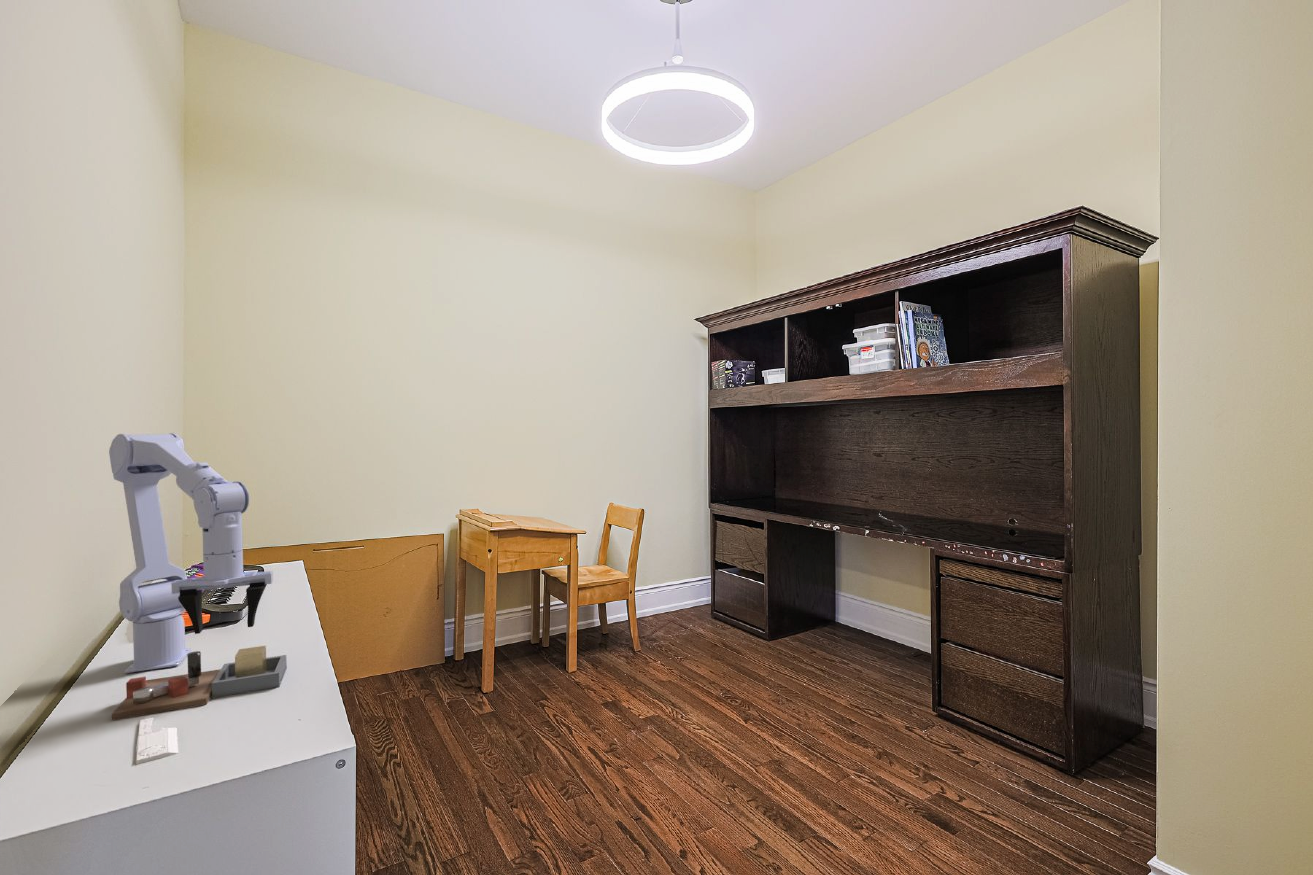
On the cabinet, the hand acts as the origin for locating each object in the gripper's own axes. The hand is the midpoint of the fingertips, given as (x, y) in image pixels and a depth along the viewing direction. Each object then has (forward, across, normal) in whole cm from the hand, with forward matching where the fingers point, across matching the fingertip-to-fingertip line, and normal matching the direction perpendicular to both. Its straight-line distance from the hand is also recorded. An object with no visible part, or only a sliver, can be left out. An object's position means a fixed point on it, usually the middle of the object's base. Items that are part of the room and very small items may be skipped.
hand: (225, 628), depth 109 cm
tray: (+9, +4, -2) cm, 10 cm away
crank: (+8, -7, -4) cm, 12 cm away
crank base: (+9, -7, -3) cm, 12 cm away
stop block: (+9, +4, -2) cm, 10 cm away
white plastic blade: (+10, -4, -20) cm, 22 cm away
